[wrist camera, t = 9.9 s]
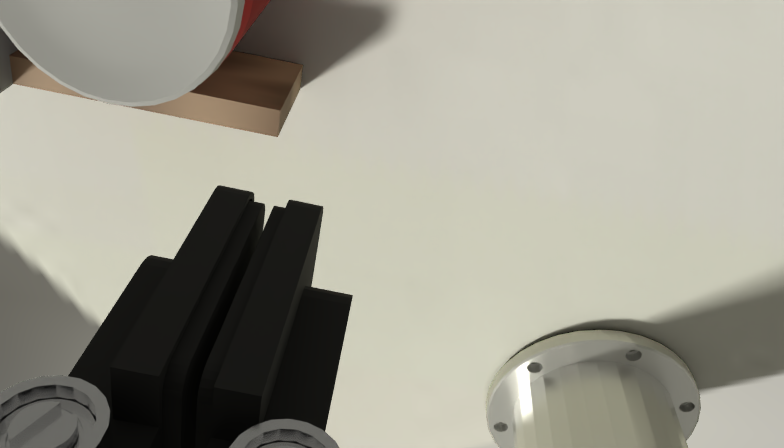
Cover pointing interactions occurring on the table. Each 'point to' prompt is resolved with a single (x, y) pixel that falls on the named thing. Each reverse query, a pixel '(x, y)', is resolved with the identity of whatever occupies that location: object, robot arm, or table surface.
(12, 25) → the canned food
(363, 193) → the table surface
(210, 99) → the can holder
